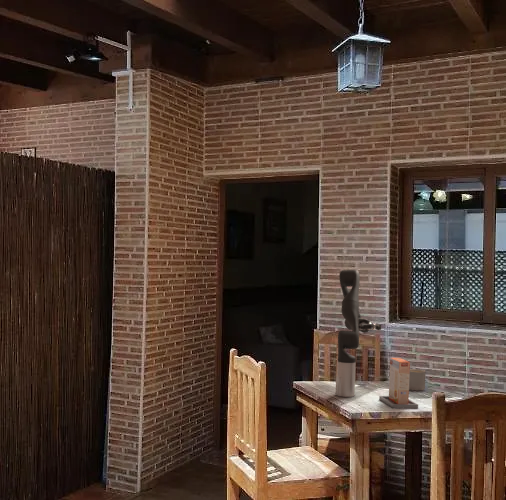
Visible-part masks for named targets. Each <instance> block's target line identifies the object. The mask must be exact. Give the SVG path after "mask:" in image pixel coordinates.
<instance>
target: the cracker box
mask: <svg viewBox="0 0 506 500" xmlns="http://www.w3.org/2000/svg"><path fill="white" fill-rule="evenodd" d="M410 369H411V361H407V359H404V358H401V357H390V358H389V375H388V376H389V379H388V380H389V382H388V396H389V399H390V400H392V401H393V402H395V403H396V404H408V402H409V400H410V398H409V397H410V389H409V375H410Z"/></svg>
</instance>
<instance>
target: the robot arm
mask: <svg viewBox="0 0 506 500" xmlns="http://www.w3.org/2000/svg"><path fill="white" fill-rule="evenodd" d="M360 276H361V275H360V272H359V270H358V269H343V270H340V271H339V276H338V277H339V285H340V288H341V291H342V295H343V299H342V302H341V314H342V317H343V318H344V327H346V329H348V330H339V331H338V334H337V364H336V365H337V367H336V369H337V371H336V376H335V395H336V396H338V397H344V398H345V397H346V398H350V397H355V395H356V393H355V387H356V364H357V363H356V359H357V358H356V356H354V355H352V354H349V353H348V352H347V351H345V349H346V350H347V349H348V350H356V349H358V348H359V346H360V332H361V333H364V334H365V333H368V332H370V331H376V330H377V331H381V330H382V325H381V324H378V323H371V321H370V320H369V319H367V318H363V317H362V315H361V314H360V299H359V295H360V294H359V291H360V281H361V279H360V278H361V277H360ZM348 287H351V289H350V290H349V288H348Z"/></svg>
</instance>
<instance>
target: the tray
mask: <svg viewBox="0 0 506 500" xmlns="http://www.w3.org/2000/svg"><path fill="white" fill-rule="evenodd" d="M379 401H381V402H382V403H383V404H385V405H387V406H388V407H390V408H391V409H419V404H418V403H416V402H414V401H412V400H411V399H409V402H408V404H396V403H395V402H393V401H392V400H390V399H389V395H380V396H379Z"/></svg>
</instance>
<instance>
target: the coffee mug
mask: <svg viewBox="0 0 506 500" xmlns="http://www.w3.org/2000/svg"><path fill="white" fill-rule="evenodd" d="M426 374H427V373H426V370H424V369H415V368H413V369H411V368H410V375H409V391H425V390H426ZM424 389H425V390H424Z"/></svg>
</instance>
